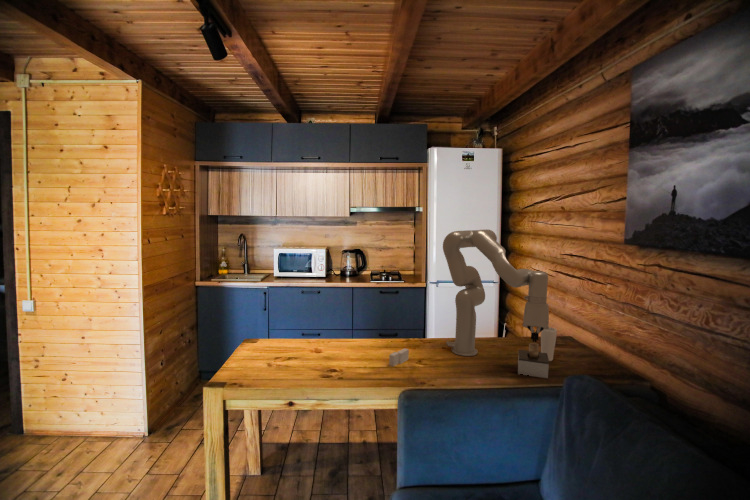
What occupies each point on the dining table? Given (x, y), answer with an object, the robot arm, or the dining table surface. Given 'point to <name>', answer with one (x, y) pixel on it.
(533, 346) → the peg
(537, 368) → the collar block
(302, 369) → the dining table surface
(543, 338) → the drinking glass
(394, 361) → the grey grooved block
